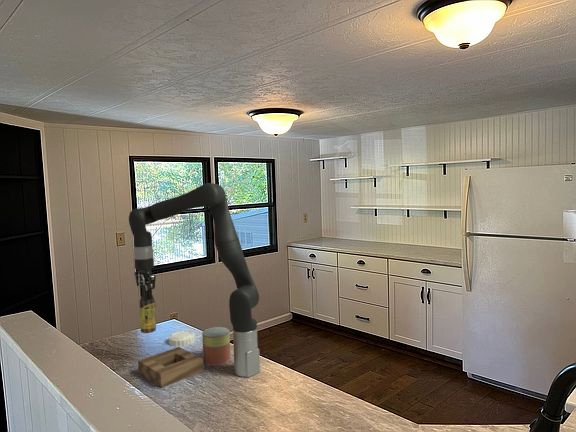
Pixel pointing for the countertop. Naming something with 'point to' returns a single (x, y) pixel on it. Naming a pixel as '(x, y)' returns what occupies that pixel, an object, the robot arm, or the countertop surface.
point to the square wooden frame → (170, 366)
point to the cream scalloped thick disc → (181, 338)
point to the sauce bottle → (147, 313)
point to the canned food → (216, 346)
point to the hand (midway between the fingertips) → (146, 297)
